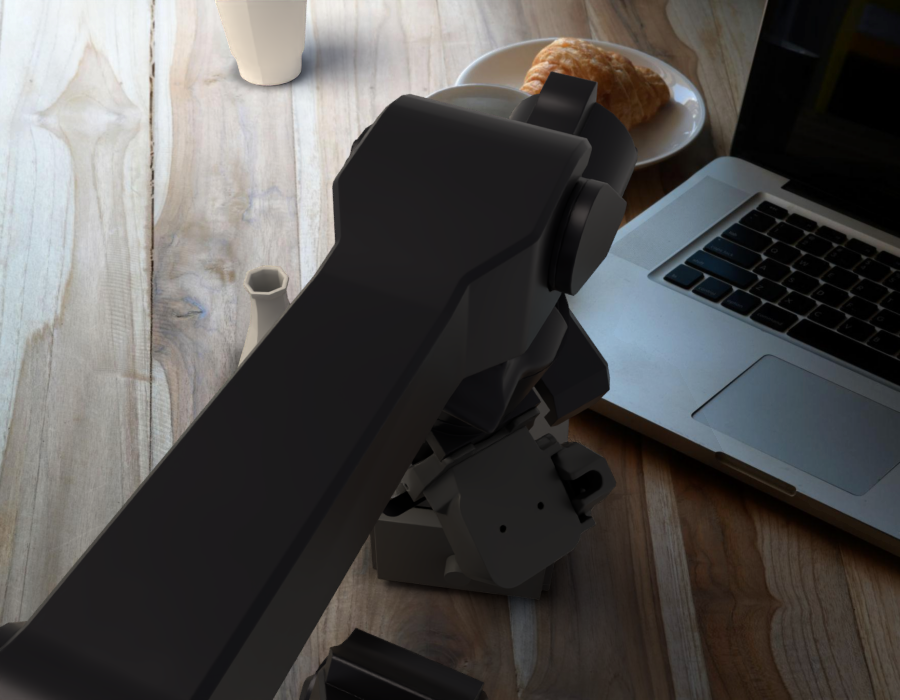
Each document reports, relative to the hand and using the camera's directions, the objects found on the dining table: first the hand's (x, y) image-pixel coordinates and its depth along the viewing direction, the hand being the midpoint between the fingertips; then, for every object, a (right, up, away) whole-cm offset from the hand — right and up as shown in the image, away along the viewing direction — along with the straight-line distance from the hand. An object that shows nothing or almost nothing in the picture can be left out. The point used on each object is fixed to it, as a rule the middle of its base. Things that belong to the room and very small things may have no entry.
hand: (393, 474), depth 51 cm
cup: (-17, +38, +54) cm, 68 cm away
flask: (-10, +5, +22) cm, 25 cm away
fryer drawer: (+4, -5, +11) cm, 13 cm away
